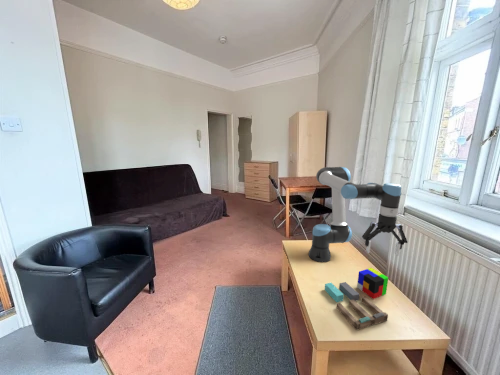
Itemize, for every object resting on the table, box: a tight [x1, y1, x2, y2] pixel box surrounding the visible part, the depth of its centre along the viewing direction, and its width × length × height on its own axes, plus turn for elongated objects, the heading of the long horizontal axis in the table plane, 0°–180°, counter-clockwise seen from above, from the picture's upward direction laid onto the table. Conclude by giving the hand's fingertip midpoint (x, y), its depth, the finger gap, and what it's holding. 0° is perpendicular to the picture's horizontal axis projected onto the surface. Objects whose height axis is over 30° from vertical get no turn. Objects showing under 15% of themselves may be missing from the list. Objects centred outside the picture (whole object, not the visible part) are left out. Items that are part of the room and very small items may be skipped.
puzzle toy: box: [356, 267, 389, 300], centre depth 114 cm, size 10×10×10 cm
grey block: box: [338, 281, 360, 302], centre depth 112 cm, size 10×4×4 cm, turn 16°
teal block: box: [324, 282, 345, 303], centre depth 111 cm, size 10×4×4 cm, turn 16°
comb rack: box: [335, 296, 389, 331], centre depth 99 cm, size 13×18×4 cm
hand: (381, 253), depth 108 cm, fingers open, 13 cm apart
